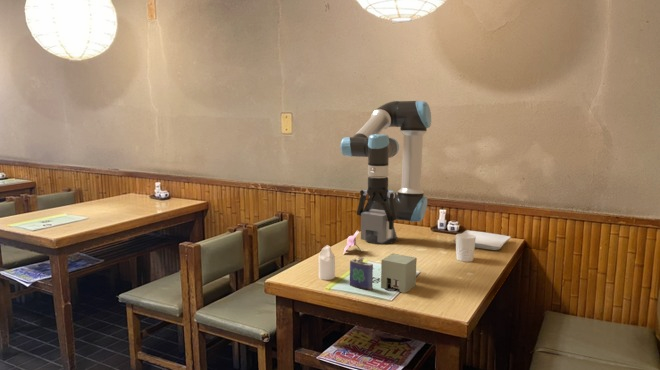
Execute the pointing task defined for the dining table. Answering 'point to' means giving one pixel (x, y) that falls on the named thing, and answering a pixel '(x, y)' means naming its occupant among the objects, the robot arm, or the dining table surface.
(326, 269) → the white bottle
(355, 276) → the flask
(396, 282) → the letter cube
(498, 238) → the salad plate
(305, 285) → the dining table surface
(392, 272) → the olive cover
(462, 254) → the white cup
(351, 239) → the lily
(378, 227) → the slate cover
